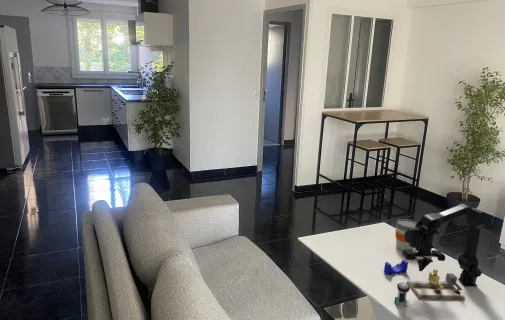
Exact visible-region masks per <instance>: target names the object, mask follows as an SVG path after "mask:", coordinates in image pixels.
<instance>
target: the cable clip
mask: <svg viewBox="0 0 505 320" xmlns="http://www.w3.org/2000/svg"><path fill="white" fill-rule="evenodd" d="M408 265H409V262H408V261H407V259H401V262H400V263H397V264H395V265H394V266H392V264H391V263H390V262H389V261H385V262H384V267H383V273H384V274H385V275H387V276H391V275H399V274H404V273H407V271H408V267H409V266H408Z"/></svg>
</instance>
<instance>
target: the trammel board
mask: <svg viewBox="0 0 505 320" xmlns="http://www.w3.org/2000/svg"><path fill="white" fill-rule="evenodd" d="M406 284H408V286H409V287H410V289H411V291H412V292H413V293H414V295H415V296H416V297H417V298H418V299H419V300H456V301H457V300H458V301H465V300H466V297H465V296H464V294H462V293H463V292H461V291H460V290H459V293H457V287H456V286H455V285H449V284H448V283H447V282H446V281H439V284H440V285H441V286H442V287H443V288H444V290H441V292H439V287H438V285H437V284H432V283H431V282H430V281H429V280H407V281H406Z"/></svg>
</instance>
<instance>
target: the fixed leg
mask: <svg viewBox="0 0 505 320" xmlns="http://www.w3.org/2000/svg"><path fill="white" fill-rule="evenodd" d="M444 280H445V281H444V282H447V283H448V284H449V285H454V287H455V288H456V289H457V293H459V291H460V292H461V291H463V290H462V289H463V288H462V286H460V285H459V284H458V283H457V282H458V281H457V280H458V277H457V276H456V275H455V274H454V273H453V272H452V273H451V272H450V273H446V276H445V279H444Z"/></svg>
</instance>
